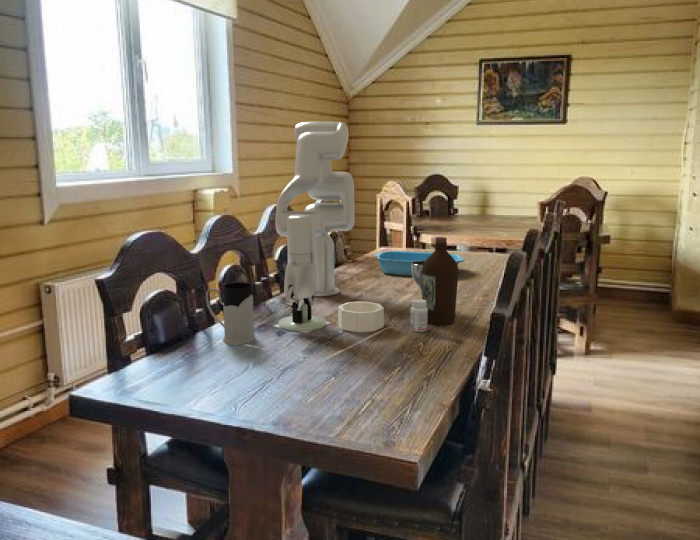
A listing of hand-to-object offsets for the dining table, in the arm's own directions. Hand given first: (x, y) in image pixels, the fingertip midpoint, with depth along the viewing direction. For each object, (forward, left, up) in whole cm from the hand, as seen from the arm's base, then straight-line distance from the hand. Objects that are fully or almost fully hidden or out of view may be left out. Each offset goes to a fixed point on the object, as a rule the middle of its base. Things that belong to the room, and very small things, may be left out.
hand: (302, 320), depth 178 cm
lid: (0, 0, -1) cm, 1 cm away
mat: (0, 0, -2) cm, 2 cm away
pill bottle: (+30, +15, -2) cm, 34 cm away
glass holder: (-9, -20, -2) cm, 22 cm away
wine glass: (+21, +36, -2) cm, 42 cm away
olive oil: (+31, +26, -2) cm, 41 cm away
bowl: (+15, +8, -2) cm, 17 cm away
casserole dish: (-6, +87, -2) cm, 87 cm away
